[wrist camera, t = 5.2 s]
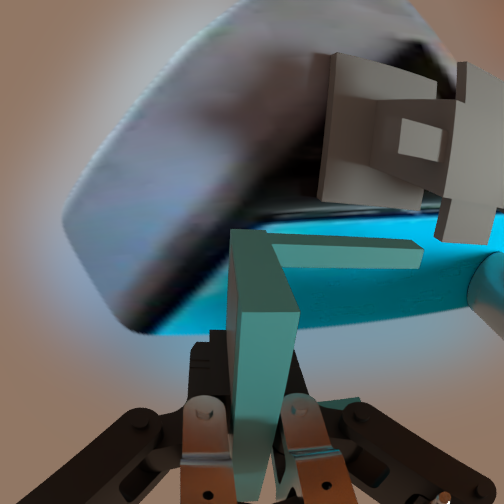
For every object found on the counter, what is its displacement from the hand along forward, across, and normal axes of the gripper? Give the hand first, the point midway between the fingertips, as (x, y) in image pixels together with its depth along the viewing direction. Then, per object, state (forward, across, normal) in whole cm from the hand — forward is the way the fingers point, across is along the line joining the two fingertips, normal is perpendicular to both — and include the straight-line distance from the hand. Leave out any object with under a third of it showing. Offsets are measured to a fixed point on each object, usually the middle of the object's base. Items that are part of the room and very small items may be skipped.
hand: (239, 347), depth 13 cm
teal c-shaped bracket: (0, -3, 0) cm, 3 cm away
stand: (+17, -13, -9) cm, 23 cm away
